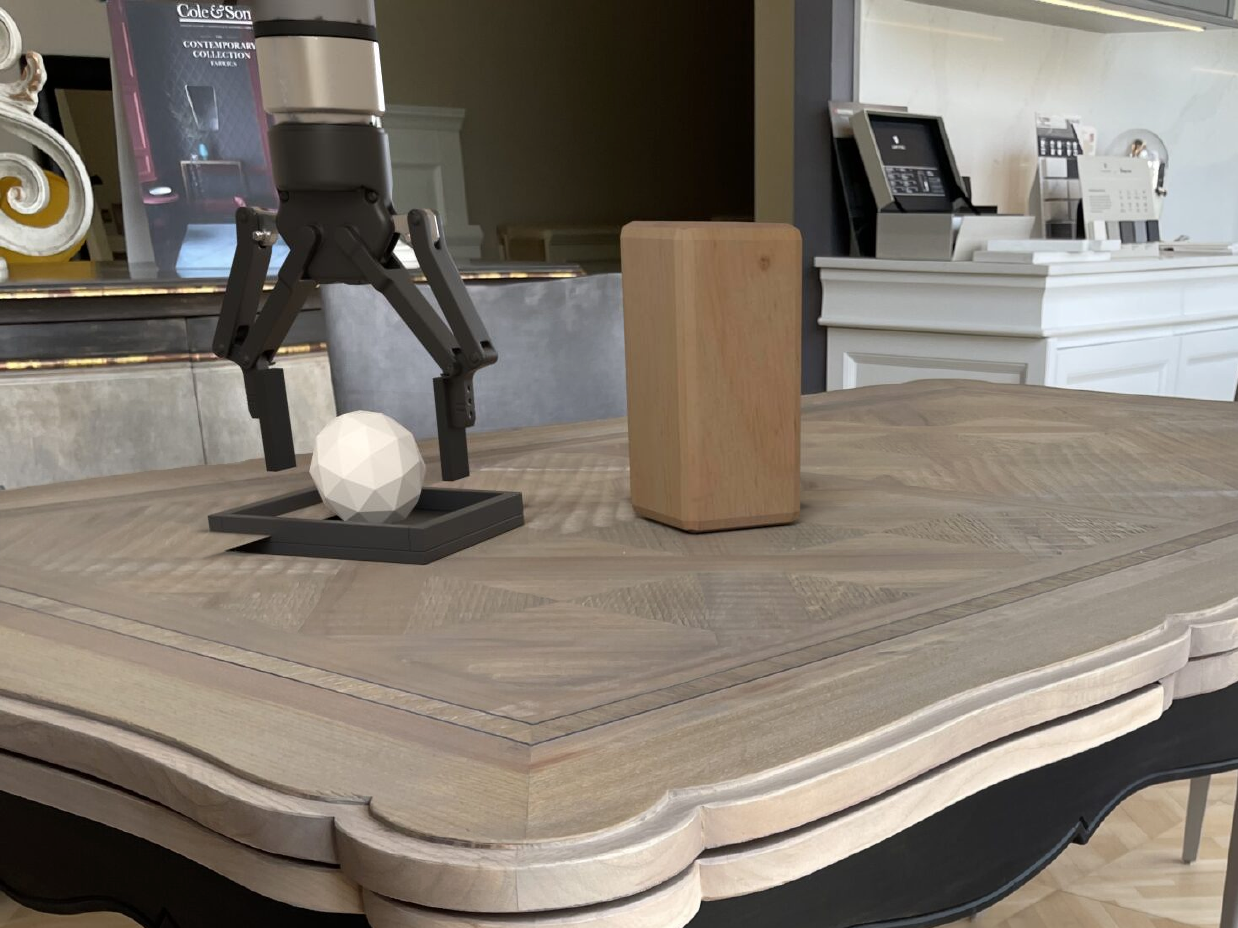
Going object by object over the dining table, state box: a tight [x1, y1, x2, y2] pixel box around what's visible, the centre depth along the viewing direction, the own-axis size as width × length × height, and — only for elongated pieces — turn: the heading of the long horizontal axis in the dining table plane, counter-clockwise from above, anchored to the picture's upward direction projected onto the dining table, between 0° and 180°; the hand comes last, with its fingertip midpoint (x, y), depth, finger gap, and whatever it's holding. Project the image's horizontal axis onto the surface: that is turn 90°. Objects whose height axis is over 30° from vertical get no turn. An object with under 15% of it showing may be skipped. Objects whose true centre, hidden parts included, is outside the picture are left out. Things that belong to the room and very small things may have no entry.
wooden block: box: [619, 220, 803, 534], centre depth 116 cm, size 10×10×20 cm
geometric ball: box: [309, 409, 427, 524], centre depth 111 cm, size 8×8×8 cm
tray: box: [207, 484, 525, 565], centre depth 113 cm, size 16×16×2 cm
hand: (367, 474), depth 111 cm, fingers open, 13 cm apart
